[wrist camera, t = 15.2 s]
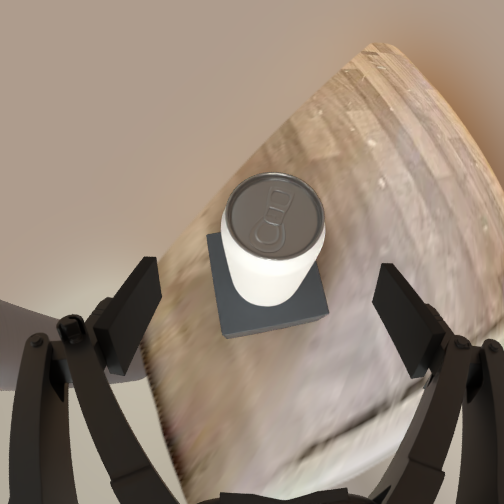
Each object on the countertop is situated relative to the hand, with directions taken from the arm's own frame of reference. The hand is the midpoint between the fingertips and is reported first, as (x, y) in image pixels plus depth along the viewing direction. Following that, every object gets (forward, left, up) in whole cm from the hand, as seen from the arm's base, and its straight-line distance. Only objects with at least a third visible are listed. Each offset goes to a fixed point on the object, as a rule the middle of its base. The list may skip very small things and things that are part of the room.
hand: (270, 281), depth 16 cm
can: (0, +3, -11) cm, 11 cm away
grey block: (0, +4, -15) cm, 16 cm away
